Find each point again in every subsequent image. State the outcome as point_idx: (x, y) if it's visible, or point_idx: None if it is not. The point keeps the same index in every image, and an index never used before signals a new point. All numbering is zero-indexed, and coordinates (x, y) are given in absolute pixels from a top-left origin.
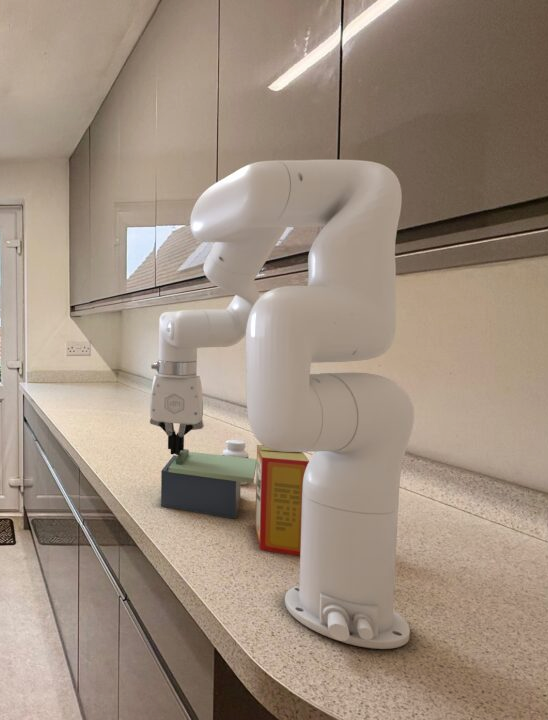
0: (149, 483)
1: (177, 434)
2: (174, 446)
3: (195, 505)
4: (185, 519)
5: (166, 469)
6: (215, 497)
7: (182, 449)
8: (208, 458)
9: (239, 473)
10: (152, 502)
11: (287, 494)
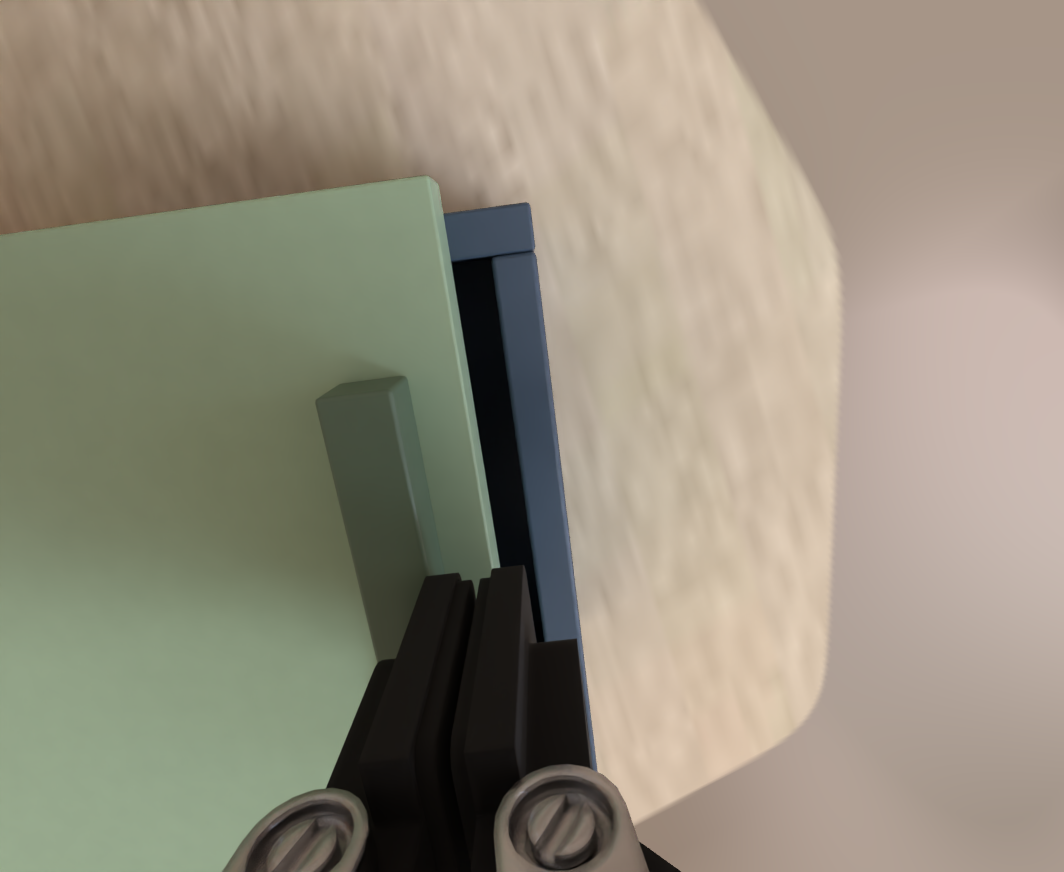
0: (727, 619)
1: (401, 857)
2: (472, 645)
3: None
4: (312, 69)
5: (495, 284)
6: None
7: (381, 663)
8: (229, 778)
9: None
10: (603, 270)
11: None
